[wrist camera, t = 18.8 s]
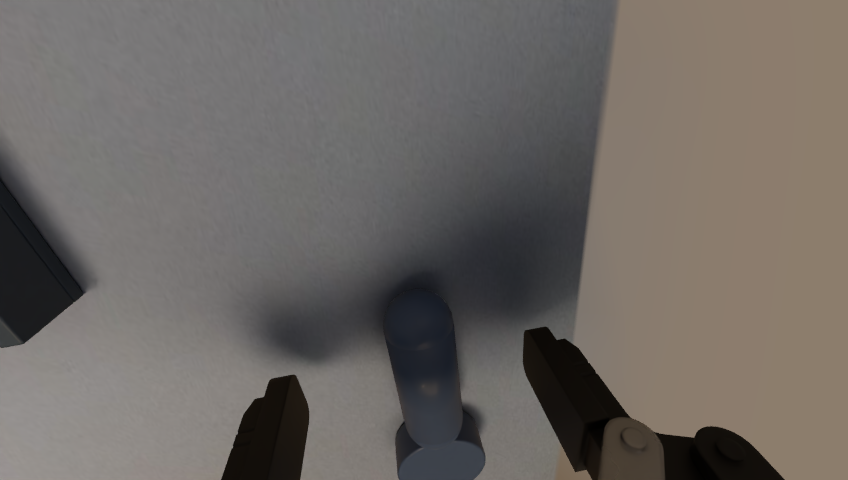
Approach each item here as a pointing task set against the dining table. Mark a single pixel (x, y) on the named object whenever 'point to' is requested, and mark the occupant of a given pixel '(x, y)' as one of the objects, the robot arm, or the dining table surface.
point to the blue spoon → (429, 391)
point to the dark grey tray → (28, 277)
